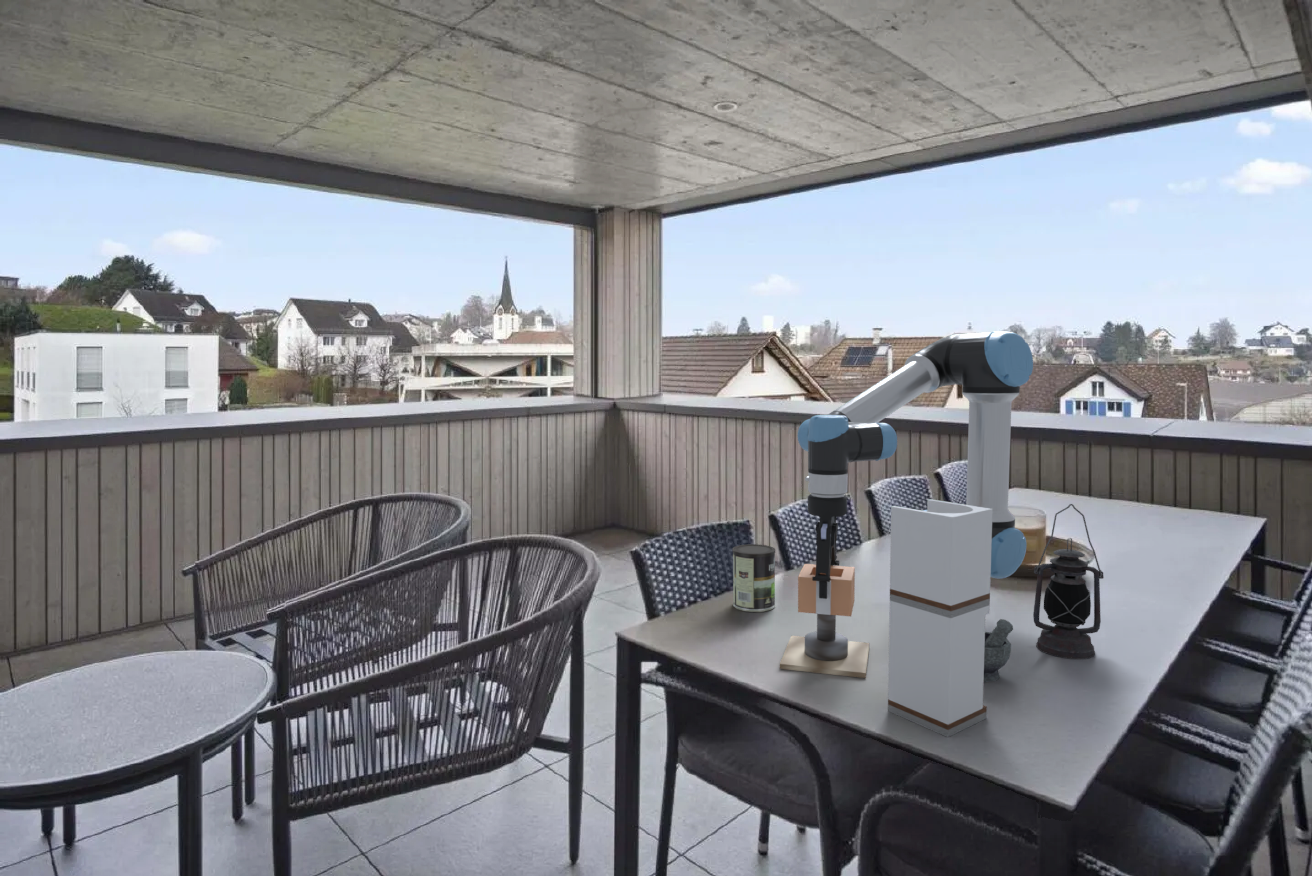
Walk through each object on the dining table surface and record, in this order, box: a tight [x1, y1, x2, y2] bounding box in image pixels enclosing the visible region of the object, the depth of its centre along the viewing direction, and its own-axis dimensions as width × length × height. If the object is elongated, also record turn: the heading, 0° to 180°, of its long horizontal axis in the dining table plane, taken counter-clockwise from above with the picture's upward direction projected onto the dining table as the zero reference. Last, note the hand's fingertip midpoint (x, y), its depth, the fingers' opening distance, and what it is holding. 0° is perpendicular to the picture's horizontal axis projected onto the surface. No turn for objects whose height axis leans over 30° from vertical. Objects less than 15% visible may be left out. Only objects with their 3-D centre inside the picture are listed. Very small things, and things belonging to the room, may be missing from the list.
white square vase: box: [887, 498, 992, 738], centre depth 126 cm, size 11×11×35 cm
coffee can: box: [731, 543, 776, 613], centre depth 186 cm, size 10×10×14 cm
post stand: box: [779, 614, 870, 679], centre depth 152 cm, size 16×16×15 cm
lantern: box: [1032, 503, 1105, 660], centre depth 155 cm, size 12×11×30 cm
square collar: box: [797, 563, 856, 617], centre depth 152 cm, size 10×10×7 cm
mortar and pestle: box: [983, 618, 1014, 683], centre depth 143 cm, size 11×9×12 cm
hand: (825, 605), depth 152 cm, fingers closed on square collar, 10 cm apart
